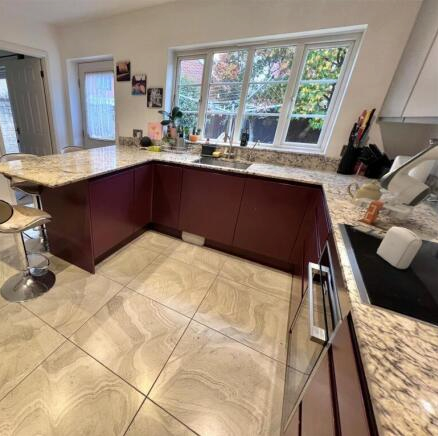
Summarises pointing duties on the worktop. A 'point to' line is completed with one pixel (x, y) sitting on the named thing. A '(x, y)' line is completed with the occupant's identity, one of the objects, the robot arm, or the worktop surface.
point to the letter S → (373, 212)
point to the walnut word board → (378, 225)
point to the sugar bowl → (366, 191)
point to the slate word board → (370, 231)
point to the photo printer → (399, 247)
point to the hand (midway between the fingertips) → (373, 210)
